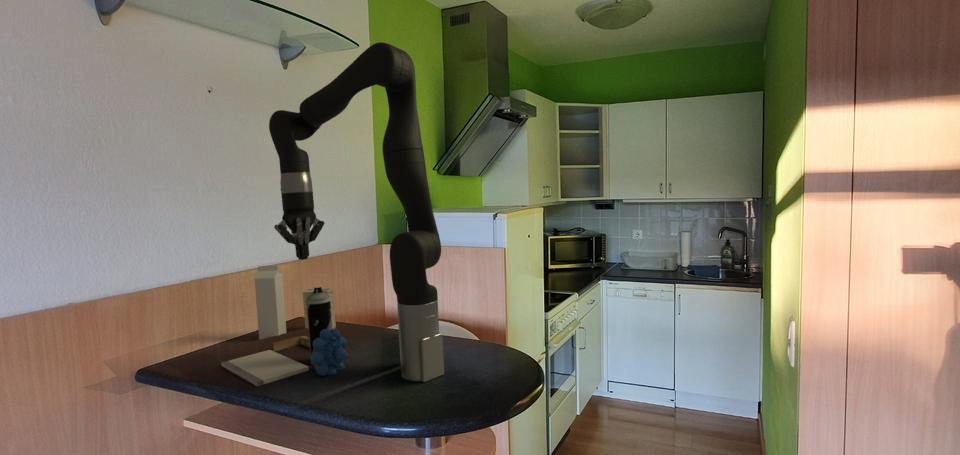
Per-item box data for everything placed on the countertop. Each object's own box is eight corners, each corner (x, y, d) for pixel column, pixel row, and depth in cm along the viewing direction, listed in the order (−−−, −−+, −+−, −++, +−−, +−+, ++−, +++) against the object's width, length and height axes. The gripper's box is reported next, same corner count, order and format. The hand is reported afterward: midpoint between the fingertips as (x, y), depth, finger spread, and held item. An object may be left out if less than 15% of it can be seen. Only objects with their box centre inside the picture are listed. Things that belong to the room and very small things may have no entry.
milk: (279, 340, 147) (274, 267, 145) (258, 341, 147) (253, 268, 145) (286, 334, 153) (281, 263, 151) (267, 335, 153) (261, 264, 151)
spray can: (316, 373, 118) (310, 290, 117) (308, 367, 122) (302, 287, 121) (338, 367, 122) (332, 286, 120) (329, 361, 126) (324, 284, 124)
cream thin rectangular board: (311, 365, 116) (256, 382, 107) (311, 371, 117) (257, 388, 107) (271, 348, 131) (221, 362, 122) (272, 354, 131) (221, 368, 122)
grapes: (330, 390, 107) (327, 336, 106) (306, 386, 110) (302, 333, 109) (362, 371, 118) (359, 321, 117) (339, 368, 121) (336, 320, 120)
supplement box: (336, 328, 158) (333, 287, 157) (330, 332, 153) (327, 290, 152) (311, 328, 159) (308, 288, 158) (305, 333, 154) (302, 291, 153)
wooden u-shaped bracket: (350, 365, 122) (349, 351, 122) (317, 376, 116) (316, 361, 116) (303, 347, 139) (302, 335, 139) (272, 355, 133) (271, 343, 132)
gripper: (278, 191, 118) (285, 263, 119) (328, 189, 128) (334, 256, 129) (264, 193, 123) (271, 262, 124) (313, 191, 133) (319, 255, 134)
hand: (303, 259), depth 126 cm, fingers closed
